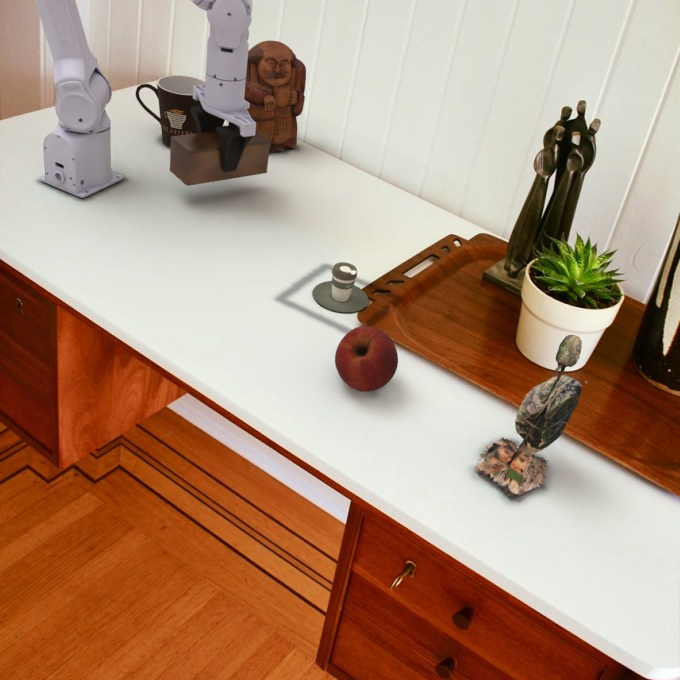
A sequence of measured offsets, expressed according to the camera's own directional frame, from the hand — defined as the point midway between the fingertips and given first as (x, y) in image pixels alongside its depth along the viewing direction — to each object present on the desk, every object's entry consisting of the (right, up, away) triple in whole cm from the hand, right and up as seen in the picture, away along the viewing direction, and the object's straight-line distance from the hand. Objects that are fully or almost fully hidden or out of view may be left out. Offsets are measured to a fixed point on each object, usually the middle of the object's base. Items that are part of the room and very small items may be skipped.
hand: (219, 162), depth 134 cm
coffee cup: (+19, -22, -14) cm, 32 cm away
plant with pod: (+40, -43, -35) cm, 68 cm away
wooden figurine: (+4, +8, +21) cm, 23 cm away
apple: (+22, -34, -28) cm, 49 cm away
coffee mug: (-11, +8, +17) cm, 22 cm away
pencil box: (0, -1, +1) cm, 2 cm away
